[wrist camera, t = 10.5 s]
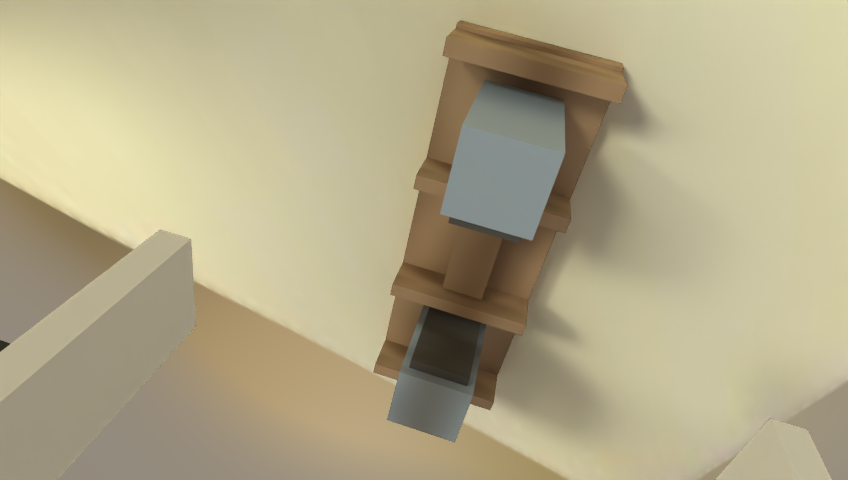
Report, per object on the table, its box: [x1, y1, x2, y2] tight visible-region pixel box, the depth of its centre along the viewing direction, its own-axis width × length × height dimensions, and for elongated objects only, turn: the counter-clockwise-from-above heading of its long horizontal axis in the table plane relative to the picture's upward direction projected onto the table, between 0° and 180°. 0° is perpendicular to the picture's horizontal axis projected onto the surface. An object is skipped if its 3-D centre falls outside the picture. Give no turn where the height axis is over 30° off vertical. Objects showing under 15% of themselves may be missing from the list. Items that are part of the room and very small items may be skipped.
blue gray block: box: [440, 80, 565, 244], centre depth 24 cm, size 4×5×7 cm
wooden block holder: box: [374, 21, 628, 442], centre depth 28 cm, size 8×22×8 cm, turn 168°
